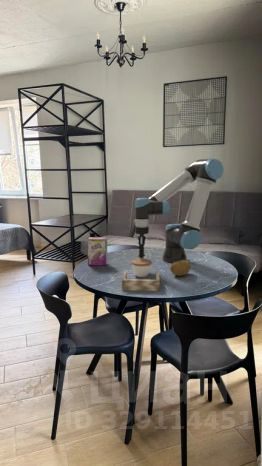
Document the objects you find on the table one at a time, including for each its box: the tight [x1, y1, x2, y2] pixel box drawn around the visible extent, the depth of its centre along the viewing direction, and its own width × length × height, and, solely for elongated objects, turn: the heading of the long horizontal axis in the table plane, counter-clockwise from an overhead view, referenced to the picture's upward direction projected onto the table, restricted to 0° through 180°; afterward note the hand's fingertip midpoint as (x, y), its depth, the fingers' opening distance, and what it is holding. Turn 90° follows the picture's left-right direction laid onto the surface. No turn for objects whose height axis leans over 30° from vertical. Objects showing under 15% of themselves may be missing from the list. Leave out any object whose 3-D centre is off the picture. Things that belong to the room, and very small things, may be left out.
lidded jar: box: [131, 258, 153, 278], centre depth 171 cm, size 11×11×9 cm
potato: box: [169, 259, 192, 277], centre depth 171 cm, size 10×14×8 cm
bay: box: [121, 270, 160, 292], centre depth 156 cm, size 17×15×5 cm
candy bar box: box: [87, 236, 108, 267], centre depth 191 cm, size 11×5×16 cm, turn 84°
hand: (141, 267), depth 179 cm, fingers closed
